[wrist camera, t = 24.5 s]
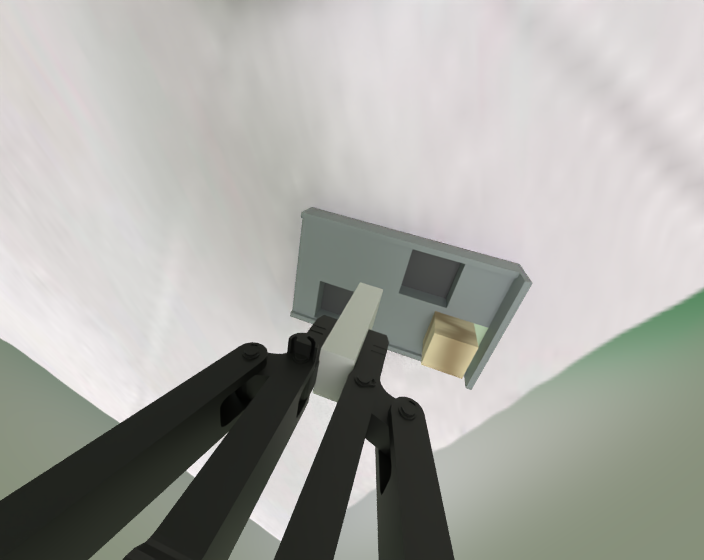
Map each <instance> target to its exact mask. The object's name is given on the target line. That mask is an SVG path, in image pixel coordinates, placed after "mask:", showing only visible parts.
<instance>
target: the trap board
mask: <svg viewBox="0 0 704 560" xmlns="http://www.w3.org/2000/svg"><path fill="white" fill-rule="evenodd" d="M301 218H303V220H302V229H301V238H300V247H299V256H298V265H297V274H296V283H295V291H294V300H293V309H292V312H291V315H290V316H291V317H294V318H297V319H300V320H303V321H305V322H308V323H311V324H314V322H315V321H316V320H317V318H319V317H321V316H323V315H326V316H329V317H332V318H335V319H339V317H340V315H341V314H342V312H343V310H344V309H345V307H346V305H347V304H348V302H349V300H350V299H351V297H352V295H353V293H354V292H355V290H356V288H357V287H358V285H359V283H360V282H361V283H364V284H367V285H371V286H374V287H377V288H380V289H383V293H382V296H381V300H380V303H379V307H378V310H377V313H376V317H375V320H374V324H373V327H372V329H371V330H373V331H376V332H379V333H382V334H385V335H387V337H388V340H389V345H388V349H387V350H390V351H393V352H395V353H398V354H401V355H404V356H407V357H410V358H413V359H416V360H419V361H421V360H422V348H423V339H424V337H425V335H426V332H427V330H428V327H429V325H430V322H431V320H432V317H433V315H434V313H435V311H437V312H440V313H443V314H446V315H449V316H452V317H456V318H459V319H462V320H465V321H468V322H471V323H474V327H475V332H476V337H477V342H478V347H479V348H478V350H477V351H476V353H475V355H474V357H473V359H472V361H471V363H470V364H469V366H468V368H467V370H466V372H465V374H464V377H465V386H466V388H467V389H470V390H472V388H473V386H474V384H475V383H476V381H477V379H478V377H479V376H480V374H481V372H482V370H483V369H484V367H485V365H486V363H487V362H488V360H489V358H490V356H491V355H492V353H493V351H494V349H495V348H496V346H497V344H498V342H499V341H500V339H501V337H502V335H503V334H504V332H505V330H506V328H507V327H508V325H509V323H510V321H511V320H512V318H513V316H514V314H515V313H516V311H517V309H518V308H519V306H520V304H521V302H522V301H523V299H524V297H525V295H526V294H527V292H528V290H529V288H530V287H531V285H532V282H531V280H530V279H529V277H528V276H527V274H526V273H525V271H524V270H523V269H522V267H521V266H520V264H517V263H513V262H510V261H506V260H503V259H499V258H495V257H492V256H488V255H484V254H481V253H477V252H473V251H470V250H466V249H462V248H459V247H455V246H451V245H448V244H444V243H440V242H437V241H433V240H430V239H426V238H422V237H419V236H415V235H411V234H408V233H404V232H400V231H397V230H393V229H389V228H386V227H382V226H378V225H375V224H371V223H367V222H364V221H360V220H356V219H353V218H349V217H346V216H342V215H338V214H335V213H331V212H327V211H324V210H320V209H316V208H313V207H311V208H309V209H307V210H305V211H303V212H302V213H301Z"/></svg>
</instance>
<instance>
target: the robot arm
mask: <svg viewBox="0 0 704 560" xmlns="http://www.w3.org/2000/svg"><path fill="white" fill-rule="evenodd" d="M382 293H383V289H380V288H377V287H374V286H371V285H367V284H364V283H361V282H360V283H359V285H358V287H357V288H356V290H355V292H354V293H353V295H352V297H351V299H350V300H349V302H348V304H347V305H346V307H345V309H344V310H343V312H342V314H341V315H340V317H339V319H335V318H332V317H329V316H326V315H323V316H321V317H319V318H317V320H316V321H315V322H314V324H313V326H312V327H311V328H310V330H309V331H308V332H307V333H297V334H294V335H292V336H291V337H290V338H289V342H288V351H287V353H285V354H274V353H268V352H267V349H266V348H265V347H264V346H263V345H262V344H259V343H253V342H251V343H246V344H243V345H241V346H239V347H238V348H236V349H235V350H233V351H232V352H230V353H228V354H227V355H225V356H224V357H222V358H221V359H219V360H218V361H216V362H215V363H213V364H211V365H210V366H208V367H207V368H205V369H204V370H202V371H201V372H199V373H197V374H196V375H194V376H193V377H191V378H190V379H188V380H187V381H185V382H183V383H182V384H180V385H179V386H177V387H176V388H174V389H173V390H171V391H170V392H168V393H166V394H165V395H163V396H162V397H160V398H159V399H157V400H156V401H154V402H152V403H151V404H149V405H148V406H146V407H145V408H143V409H142V410H140V411H139V412H137V413H135V414H134V415H132V416H131V417H129V418H128V419H126V420H125V421H123V422H121V423H120V424H118V425H117V426H115V427H114V428H112V429H111V430H109V431H108V432H106V433H104V434H103V435H101V436H100V437H98V438H97V439H95V440H94V441H92V442H90V443H89V444H87V445H86V446H84V447H83V448H81V449H80V450H78V451H77V452H75V453H73V454H72V455H70V456H69V457H67V458H66V459H64V460H63V461H61V462H60V463H58V464H56V465H55V466H53V467H52V468H50V469H49V470H47V471H46V472H44V473H43V474H41V475H39V476H38V477H36V478H35V479H33V480H32V481H30V482H28V483H27V484H25V485H24V486H22V487H21V488H19V489H18V490H16V491H14V492H13V493H11V494H10V495H9V496H7V497H5V498H4V499H2V500H1V501H0V560H88V559H89V558H90V557H92V556H93V555H94V554H95V553H96V552H97V551H98V550H99V549H100V548H102V546H104V545H105V544H106V543H107V542H108V541H109V540H110V539H111V538H113V537H114V536H115V535H116V534H117V533H118V532H119V531H120V530H121V529H122V528H123V527H125V526H126V525H127V524H128V523H129V522H130V521H131V520H132V519H133V518H134V517H135V516H137V515H138V514H139V513H140V512H141V511H142V510H143V509H144V508H145V507H146V506H148V505H149V504H150V503H151V502H152V501H153V500H154V499H155V498H156V497H157V496H159V495H160V494H161V493H162V492H163V491H164V490H165V489H166V488H167V487H168V486H169V485H171V484H172V483H173V482H174V481H175V480H176V479H177V478H178V477H179V476H180V475H181V474H183V473H184V472H185V471H186V470H187V469H188V468H189V467H190V466H191V465H193V464H194V463H195V462H196V461H197V460H198V459H199V458H200V457H201V456H202V455H203V454H205V453H206V452H207V451H208V450H209V449H210V448H211V447H212V446H213V445H214V444H216V443H217V442H218V441H219V440H220V439H221V438H222V437H223V436H224V435H225V434H226V433H227V435H226V436H225V438H224V439H223V440H222V442H221V443H220V444H219V446H218V447H217V448H216V450H215V451H214V452H213V454H212V455H211V457H210V458H209V459H208V461H207V462H206V463H205V465H204V466H203V467H202V469H201V470H200V471H199V473H198V474H197V475H196V477H195V478H194V480H193V481H192V482H191V484H190V485H189V486H188V488H187V489H186V490H185V492H184V493H183V494H182V496H181V497H180V499H179V500H178V501H177V503H176V504H175V505H174V507H173V508H172V509H171V511H170V512H169V513H168V515H167V516H166V517H165V519H164V520H163V522H162V523H161V524H160V526H159V527H158V528H157V530H156V531H155V532H154V534H153V535H152V536H151V537H150V538H149V539H148V540H147V541H146V542H145V543H143V544H141V545H139V546H137V547H135V548H134V549H133V550H132V551H131V552H129V553H128V555H126V556H125V557H124V558H123V560H228V558H229V556H230V554H231V552H232V550H233V548H234V546H235V544H236V542H237V541H238V539H239V537H240V535H241V533H242V531H243V529H244V527H245V525H246V523H247V521H248V519H249V517H250V515H251V513H252V511H253V509H254V507H255V505H256V503H257V501H258V500H259V498H260V496H261V494H262V492H263V490H264V488H265V486H266V484H267V482H268V480H269V478H270V476H271V474H272V472H273V470H274V468H275V466H276V464H277V462H278V460H279V458H280V457H281V455H282V453H283V451H284V449H285V447H286V445H287V443H288V441H289V439H290V437H291V435H292V433H293V431H294V429H295V427H296V425H297V423H298V421H299V419H300V417H301V416H302V414H303V412H304V410H305V408H306V406H307V404H308V401H309V396H310V393H311V391H312V389H313V387H314V389H313V393H314V394H317V395H320V396H322V397H325V398H327V399H330V400H332V401H335V402H337V405H336V407H335V410H334V412H333V415H332V417H331V420H330V422H329V425H328V427H327V430H326V432H325V434H324V437H323V439H322V442H321V444H320V447H319V449H318V452H317V454H316V457H315V459H314V462H313V464H312V467H311V469H310V472H309V474H308V476H307V479H306V481H305V484H304V486H303V489H302V491H301V494H300V496H299V499H298V501H297V504H296V506H295V509H294V511H293V514H292V516H291V518H290V521H289V523H288V526H287V528H286V531H285V533H284V536H283V538H282V541H281V543H280V546H279V548H278V551H277V553H276V555H275V558H274V560H333V559H334V555H335V551H336V547H337V544H338V539H339V536H340V532H341V528H342V524H343V520H344V517H345V513H346V509H347V505H348V501H349V498H350V494H351V490H352V486H353V482H354V478H355V474H356V471H357V467H358V463H359V459H360V455H361V451H362V448H363V444H364V440H365V438H366V439H367V440H368V441H369V442H371V443H372V444H373V445H374V446H375V454H376V487H377V519H378V552H379V560H454V556H453V550H452V545H451V540H450V536H449V531H448V526H447V521H446V516H445V511H444V507H443V502H442V497H441V492H440V487H439V482H438V478H437V473H436V468H435V463H434V458H433V453H432V449H431V444H430V439H429V434H428V429H427V424H426V420H425V415H424V412H423V409H422V408H421V406H420V405H419V404H418V403H417V402H416V401H414V400H413V399H411V398H408V397H398V398H396V399H395V398H394V397H392V396H391V395H390V394H388V393H387V392H386V391H385V390H384V388H383V387H382V385H381V382H380V376H381V372H382V368H383V364H384V360H385V357H386V353H387V349H388V345H389V340H388V337H387V335H385V334H382V333H379V332H376V331H373V330H371V329H372V327H373V324H374V320H375V317H376V313H377V310H378V307H379V303H380V300H381V296H382Z"/></svg>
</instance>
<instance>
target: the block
mask: <svg viewBox="0 0 704 560" xmlns="http://www.w3.org/2000/svg"><path fill="white" fill-rule="evenodd" d="M478 348H479V347H478V342H477V337H476V332H475V327H474V323H471V322H468V321H465V320H462V319H459V318H456V317H452V316H449V315H446V314H443V313H440V312H437V311H435V313H434V315H433V317H432V320H431V322H430V325H429V327H428V330H427V332H426V335H425V337H424V339H423V348H422V360H421V365H424V366H427V367H430V368H433V369H435V370H438V371H441V372H444V373H447V374H450V375H453V376H455V377H458V378H461V379H462V377H463V376H464V374H465V372H466V370H467V368H468V366H469V364H470V363H471V361H472V359H473V357H474V355H475V353H476V351H477V350H478Z"/></svg>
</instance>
